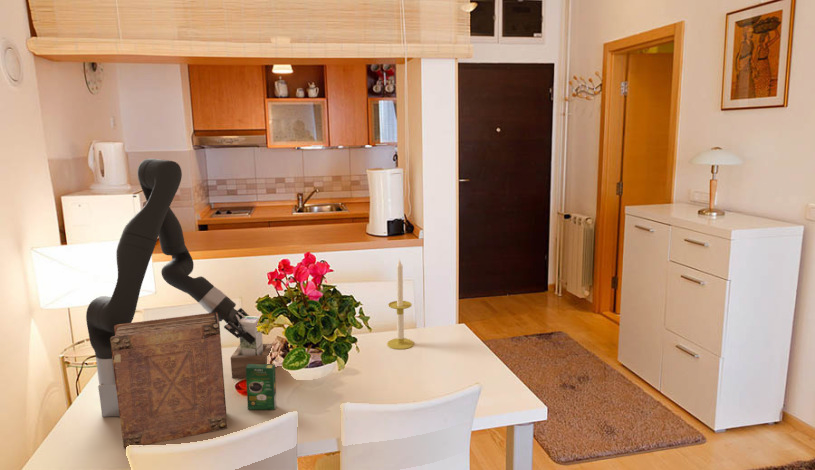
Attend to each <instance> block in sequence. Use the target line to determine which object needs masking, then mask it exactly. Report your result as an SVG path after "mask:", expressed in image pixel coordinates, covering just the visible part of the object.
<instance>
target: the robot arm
mask: <svg viewBox="0 0 815 470" xmlns="http://www.w3.org/2000/svg"><path fill="white" fill-rule="evenodd" d="M182 176H183V174H182V168H181V166H180V164H179V163H178V162H176V161H173V160H170V159H169V160H168V159H158V158H145V159H144V160H142V161H141V162H140V163H139V165H138V167H137V178H138V183H139V185H140V187H141V190H142V194H143V195H144V197H145V200H146V204H145V205H144V206H143V207H142V208H141V209H140V210H139V211H138V212H137V213H136V214H135V215H133V217H132V218H131V219H130V220H129V221H128V223H126V225H125V226H124V228H123V230H122V232H121V236H120V238H119V241H118V244H117V247H116V253H115V254H116V256H115V257H116V265H117V266H116V267H117V280H116V284H115V286H114V290H113V292H112V294H111V295H112V296H109V295H108V296H106V295H105V296H98V297H96V298H93V300H92V301H91V302H90V303H89V305H88V306H87V309H86V312H85V313H86V316H85V317H86V318H85V320H86V326H87V331H88V332H87V333H88V338H89V343H90V346H91V348H92V349H93V351H94V356H95V361H96V368H97V377H98V387H97V388H98V393H99V402H100V409H101V416H102V417H120V414H119V406H118V398H117V390H116V382H115V374H114V366H113V358H112V350H111V342H110V338H111V337H113V336H115V330H114V326H115V325H118V324H126V323H133V322H132V321H133V320H134V318H135V314H136V311H137V307H138V301H139V297H140V294H141V293H140V292H141V288H142V285H143V282H144V278H145V276H146V272H147V269H148V266H149V265H150V264H149V263H150V261H151V258H152V255H153V253H154V251H155V248H156V245H157V241H158V240H159V244H160V249H161V252H162V253H163V255H166V256H170V257H171V260H170V261H169V262H167V263H165V265H163V267H162V268H161V271H160V273H161V276H162V278H163V280H164V281H165V282H166V283H167V284H168V285H169V286H172V287H173V288H175V289H177V290H179V291H181V292H183V293H186V294H188V295H189V297H191V298H192V299H194V300H195V301H196V302H197V303H198V304H199V305H200V306H201V307H202V308H203V310H205V311H206V312H207V313H214V312H216V313H217V314H218V319H219V323H220V322H222V321H224V322H225V323H226V324H224V326H223V328H224V329H225V330H226V331H227V332H229V333H230V334H232V335H233V336H235V338H236V339H240V337H243V338H244V339H245V340H246V341H247V342H249V343H250V344H252V343H253V342H254V341H255V338H254V337H253V336H252V335H251V334H250V333H248V332H247V331H246V330H245V328H244V327H243V324H242V323H241V319H242V318H243V317H244V316H250V314H248V313H247V311H245V310H244V308H242V307H240V308H238V309H236V305H237V304H236V302H234V301H233V300H232V299H231V298H230V297H228V295H226V294H225V293H224V292H223V291H222V290H220V289H218V288H217V287H216V286H214V284H213V283H211V282H210V281H209V280H208V279H206V278H205V277H204V276H201V275H200V276H197V277H193V276H190V274H192V273H193V270H194V265H195V264H194V260H193V257H192V255H191V254H190V252H189V249H188V248H187V246H186V244H185V238H184V234H183V233H184V232H183V228H182V226H181V223H180V221H179V219H178V217H177V216H176V214H175V213H174V211H173V210H172V209H171V204H172V202H173V201H174V198H175V196H176V194H177V191H178V190H179V187H180V185H181V182H182V178H183V177H182ZM241 329H242V330H241ZM246 332H247V333H246Z"/></svg>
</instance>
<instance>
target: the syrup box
mask: <svg viewBox="0 0 815 470" xmlns="http://www.w3.org/2000/svg"><path fill="white" fill-rule="evenodd" d="M260 317H261V316H255V315H253V316H251V315H249V316H244V317H243V318H242V319H241V323H242V324H243V327H244V328H245V330H246V331H247V332H248V333H250V334H251V335H252V336H253V337H254V338H255V341H254V342H253V343H252V344H250V343H249V342H247V341H246V340H245V339H244V338H243V337H239V345H240V348H241V356H244V355H262V353H263V344H264V343H263V342H264V341H263V332H262V333H261V332H258V331H257V328H256V326H257V323H258V321H259V319H260ZM241 330H242V329H241ZM247 332H246V333H247Z"/></svg>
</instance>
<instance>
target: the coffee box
mask: <svg viewBox="0 0 815 470" xmlns="http://www.w3.org/2000/svg"><path fill="white" fill-rule="evenodd" d="M245 380H246V381H245V382H246V397H247V398H246V399H247V400H246V401H247V410H254V411H255V410H258V411H259V410H263V411H264V410H265V411H266V410H267V411H270V410H271V411H272V410H275V409H276V408H277V389H276V388H277V386H276V385H277V384H276V383H277V381H276V365H275V364H274V363H273V364H248V365H247V367H246V379H245Z"/></svg>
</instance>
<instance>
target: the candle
mask: <svg viewBox="0 0 815 470" xmlns="http://www.w3.org/2000/svg"><path fill="white" fill-rule="evenodd" d="M403 267H404V266H403V264H402V263H401V259H400V258H399V259H398V263H397V264H396V300H393V301H391V302H389V303H388V305H387V306H388V307H389V308H391V309H395V310H396V338H392V339H390V340H389V341H387V343H386V345H387V347H389V349H394V350H409V349H410V348H413V347H414V345H415V342H414V341H413V340H411V339H410V338H409V339H408V338H404V337H405V336H404V335H405V332H404V331H405V327H404V323H405V322H404V317H405V316H404V314H405V313H404V311H405V309H409V308H411V307H412V304H413V303H412V302H410V301H406V300H404V290H403V289H404V286H403V284H404V281H403V279H404V277H403V275H404V274H403V273H404V272H403Z"/></svg>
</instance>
